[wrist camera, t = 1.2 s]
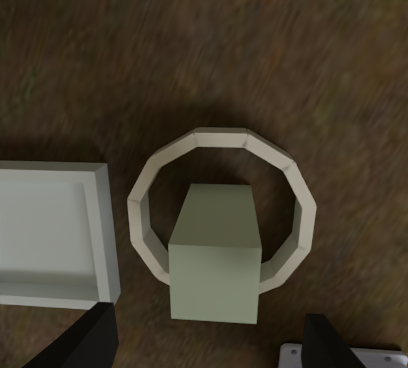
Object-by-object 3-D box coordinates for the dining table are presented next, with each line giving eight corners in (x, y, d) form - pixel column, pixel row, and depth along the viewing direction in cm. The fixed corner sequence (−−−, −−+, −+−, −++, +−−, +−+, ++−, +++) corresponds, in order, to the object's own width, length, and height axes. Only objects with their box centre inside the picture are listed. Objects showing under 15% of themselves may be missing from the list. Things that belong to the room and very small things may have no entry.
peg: (250, 185, 20) (261, 248, 13) (247, 238, 22) (256, 324, 14) (191, 183, 21) (168, 244, 13) (191, 236, 22) (171, 318, 15)
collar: (316, 129, 19) (325, 134, 17) (297, 286, 23) (303, 305, 21) (131, 126, 20) (121, 131, 18) (143, 278, 24) (135, 295, 22)
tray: (107, 163, 21) (94, 171, 19) (120, 292, 24) (111, 311, 22) (-40, 159, 22) (-66, 167, 20) (-6, 285, 25) (-25, 302, 23)
